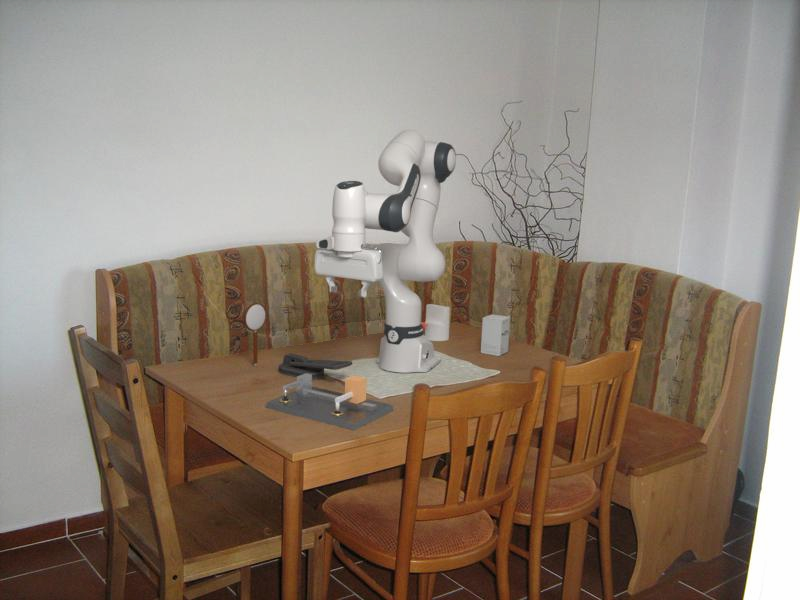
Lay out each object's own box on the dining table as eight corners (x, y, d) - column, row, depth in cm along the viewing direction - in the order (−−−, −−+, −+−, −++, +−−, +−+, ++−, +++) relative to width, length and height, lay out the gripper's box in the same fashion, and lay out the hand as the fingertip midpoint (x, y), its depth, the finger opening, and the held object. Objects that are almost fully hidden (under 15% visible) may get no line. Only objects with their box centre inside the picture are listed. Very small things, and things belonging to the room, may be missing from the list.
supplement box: (499, 356, 262) (501, 320, 260) (480, 353, 266) (481, 317, 264) (508, 352, 269) (510, 316, 266) (489, 348, 272) (491, 313, 270)
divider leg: (353, 398, 206) (354, 375, 205) (366, 401, 204) (366, 377, 203) (329, 409, 198) (330, 384, 196) (342, 412, 195) (343, 387, 194)
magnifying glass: (246, 369, 239) (246, 305, 235) (242, 368, 240) (242, 304, 236) (267, 363, 245) (267, 301, 241) (264, 362, 246) (263, 300, 243)
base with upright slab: (419, 338, 285) (420, 305, 283) (434, 334, 292) (435, 302, 290) (439, 342, 280) (440, 309, 277) (453, 338, 286) (455, 306, 284)
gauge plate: (309, 391, 219) (309, 368, 218) (393, 410, 205) (393, 386, 204) (266, 407, 204) (266, 384, 203) (354, 430, 190) (354, 404, 189)
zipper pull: (334, 367, 220) (274, 351, 236) (334, 389, 222) (274, 372, 237) (355, 361, 227) (295, 346, 242) (355, 382, 229) (295, 366, 244)
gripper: (388, 245, 203) (386, 297, 206) (325, 239, 214) (324, 288, 216) (374, 247, 198) (373, 301, 200) (311, 241, 208) (310, 291, 211)
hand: (347, 294), depth 208 cm, fingers open, 8 cm apart
